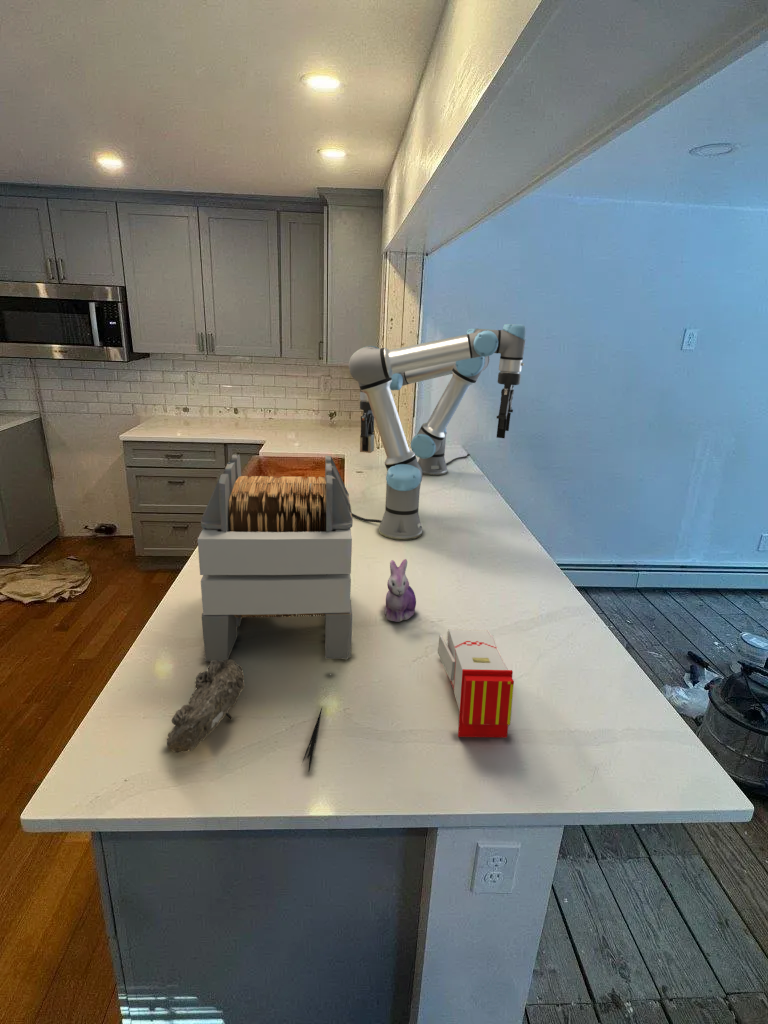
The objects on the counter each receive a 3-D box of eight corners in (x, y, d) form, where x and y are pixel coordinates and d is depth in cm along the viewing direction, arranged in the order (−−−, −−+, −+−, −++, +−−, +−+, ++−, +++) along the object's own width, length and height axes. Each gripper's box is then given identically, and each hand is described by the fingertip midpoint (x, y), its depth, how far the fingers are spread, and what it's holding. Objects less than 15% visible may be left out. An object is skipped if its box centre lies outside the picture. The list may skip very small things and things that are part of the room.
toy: (488, 613, 130) (523, 677, 101) (484, 667, 133) (517, 744, 104) (435, 612, 130) (455, 676, 101) (432, 666, 133) (451, 743, 103)
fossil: (192, 660, 117) (244, 628, 112) (224, 691, 120) (276, 661, 115) (142, 746, 98) (202, 712, 93) (182, 779, 101) (242, 748, 96)
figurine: (392, 627, 141) (395, 572, 136) (374, 608, 149) (376, 556, 144) (425, 619, 145) (429, 566, 140) (405, 601, 154) (408, 550, 149)
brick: (370, 453, 270) (370, 436, 267) (359, 451, 271) (360, 435, 268) (373, 450, 274) (374, 434, 272) (363, 449, 276) (363, 433, 273)
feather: (331, 679, 122) (336, 673, 122) (307, 777, 96) (313, 769, 95) (324, 675, 122) (329, 669, 121) (298, 772, 95) (304, 764, 95)
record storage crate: (225, 590, 155) (217, 445, 141) (345, 589, 159) (348, 447, 145) (202, 664, 123) (188, 485, 110) (352, 660, 127) (356, 487, 113)
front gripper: (518, 376, 180) (510, 442, 187) (523, 369, 202) (516, 428, 210) (494, 374, 182) (487, 439, 189) (502, 368, 204) (496, 426, 211)
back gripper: (369, 404, 255) (368, 454, 263) (381, 398, 272) (380, 446, 280) (353, 402, 257) (353, 452, 265) (366, 397, 274) (365, 445, 282)
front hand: (502, 434), depth 199 cm, fingers open, 13 cm apart
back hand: (367, 449), depth 272 cm, fingers closed on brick, 5 cm apart
